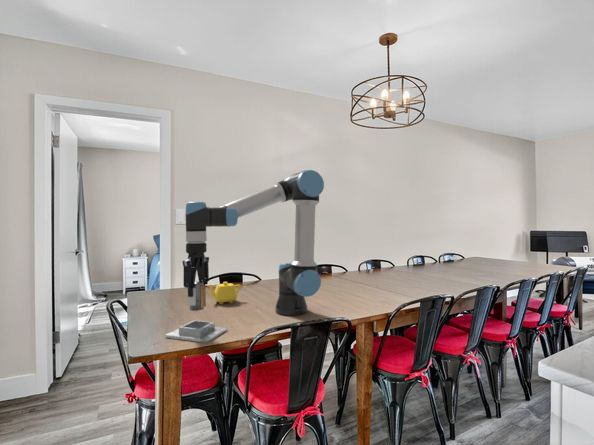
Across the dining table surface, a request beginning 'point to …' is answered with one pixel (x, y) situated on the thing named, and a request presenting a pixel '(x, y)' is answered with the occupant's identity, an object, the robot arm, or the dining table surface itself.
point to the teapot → (225, 292)
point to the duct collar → (197, 331)
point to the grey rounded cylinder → (199, 296)
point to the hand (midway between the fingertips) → (196, 303)
